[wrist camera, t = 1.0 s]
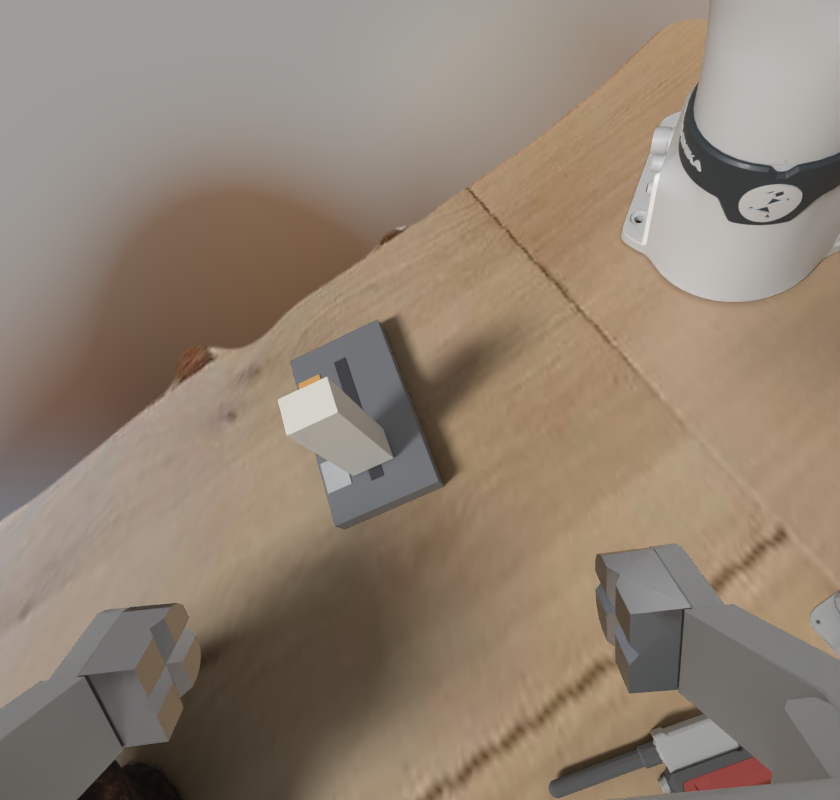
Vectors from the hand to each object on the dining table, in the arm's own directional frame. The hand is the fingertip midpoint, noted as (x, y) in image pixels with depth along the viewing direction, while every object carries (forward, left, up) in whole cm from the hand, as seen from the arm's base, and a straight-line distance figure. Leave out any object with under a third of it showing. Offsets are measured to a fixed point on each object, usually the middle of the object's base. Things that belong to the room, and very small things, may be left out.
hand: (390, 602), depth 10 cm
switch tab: (-10, -16, -33) cm, 38 cm away
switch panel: (-13, -18, -35) cm, 42 cm away
